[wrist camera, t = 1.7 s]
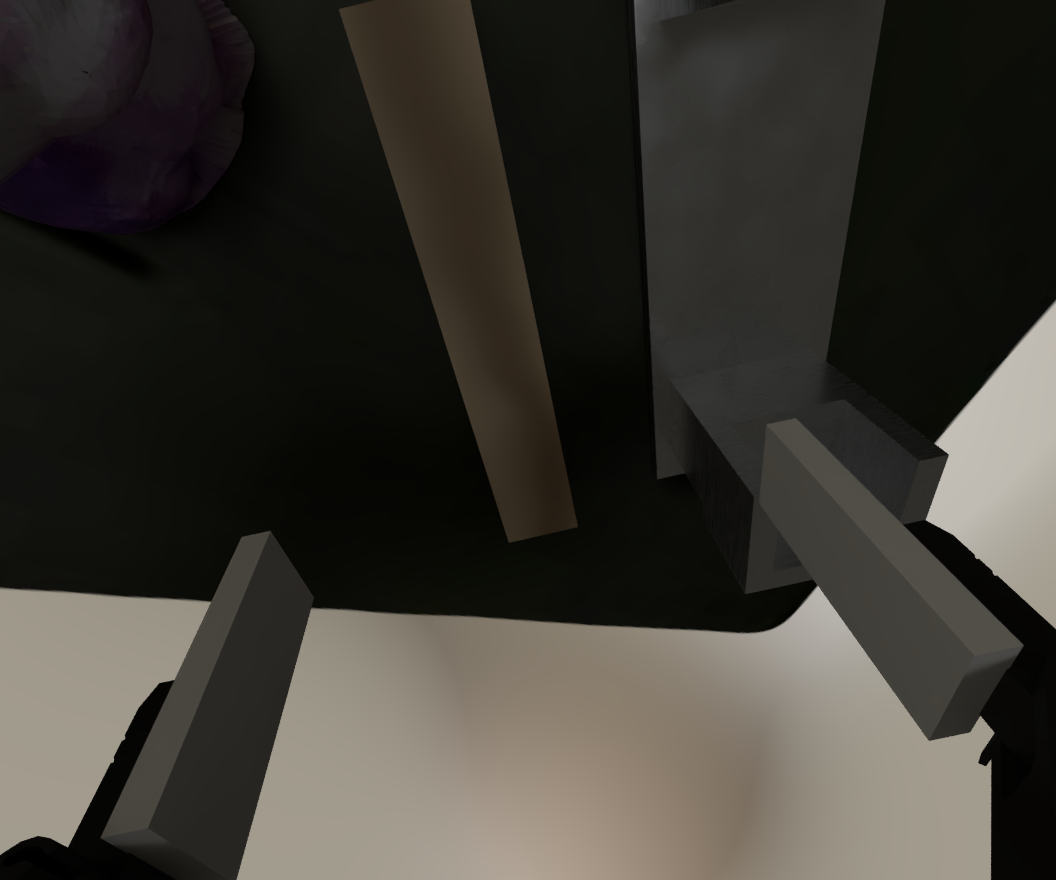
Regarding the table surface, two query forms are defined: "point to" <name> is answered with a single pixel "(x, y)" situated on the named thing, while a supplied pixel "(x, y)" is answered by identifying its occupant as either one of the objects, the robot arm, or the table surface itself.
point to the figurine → (117, 108)
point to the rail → (466, 241)
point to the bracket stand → (756, 256)
